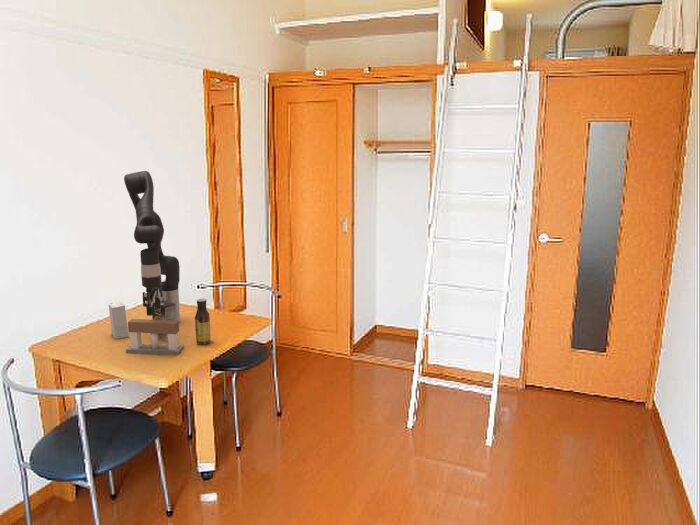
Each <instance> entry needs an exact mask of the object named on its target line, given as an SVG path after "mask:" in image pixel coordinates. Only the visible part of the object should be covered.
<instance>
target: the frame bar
mask: <svg viewBox="0 0 700 525" xmlns="http://www.w3.org/2000/svg"><path fill="white" fill-rule="evenodd" d="M127 329H128V333H130V332H135V333H141V334H150V333H158V334H176V333H178V334H179V332H180V323H179V321H172V320H153V319H146V318H131V319H130V320H128V321H127Z"/></svg>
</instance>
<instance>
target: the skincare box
mask: <svg viewBox="0 0 700 525" xmlns="http://www.w3.org/2000/svg"><path fill="white" fill-rule="evenodd" d="M108 311H109V321H110V330H111V335H112V337H113V338H114V339H115V340H118V339H125V338H128V337H129V331H128V321H127V320H128V319H127V312H126V305H125V304H124V303H123V301H118V302H113V303H112V302H111V303H108Z"/></svg>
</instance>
